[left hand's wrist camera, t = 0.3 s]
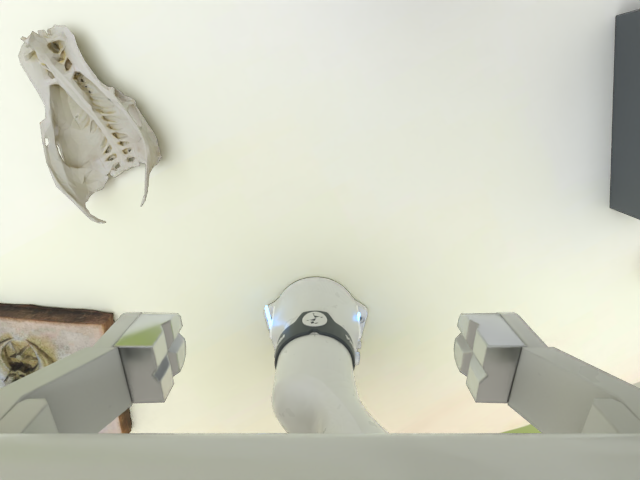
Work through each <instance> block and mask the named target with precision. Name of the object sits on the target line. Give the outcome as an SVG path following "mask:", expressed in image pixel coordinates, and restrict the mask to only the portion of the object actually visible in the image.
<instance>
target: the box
mask: <svg viewBox="0 0 640 480" xmlns="http://www.w3.org/2000/svg"><path fill="white" fill-rule="evenodd" d="M610 208H611V209H614V210H616V211H619V212H622V213H624V214H627V215H629V216H632V217H634V218H637V219H639V220H640V9H638V10H634V11H631V12H627V13H624V14H621V15H617V16H616V29H615V60H614V92H613V124H612V155H611V187H610Z"/></svg>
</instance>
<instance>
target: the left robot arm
mask: <svg viewBox="0 0 640 480" xmlns="http://www.w3.org/2000/svg"><path fill="white" fill-rule="evenodd" d="M367 315H368V310H367V308H366V307H365V306H364V305H363V304H361V303H359V302H357V301H356V300H355V299H354V298H353V297H352V296H351V294H350V293H349V292H348V291H347V290H346V289H345V288H344V287H343V286H342V285H340V284H339V283H337V282H335V281H333V280H330V279H327V278H321V277H310V278H305V279H301V280H299V281H296V282H294V283H293V284H291V285H290V286H288V287H287V288H286V289H285V290H284V291H283V293H282V294H281V295H280V297H279V298H278V299H277V300H276V301H275V302H273V303H271V304H270V305H268V306H265V310H264V317H265V320H266V323H267V326H268V330H269V333H270V338H271V339H272V343H273V346H274V349H275V369H276V373H275V379H274V385H273V392H272V407H273V411H274V414H275V416H276V418H277V419H278V421H279V423H280V424H281V425H282V427H283V428H284V429H285V431H286V432H287V433H99V432H100V431H101V430H102V429H103V428H105V427H106V426H107V425H108V424H110V423H111V422H112V421H113V420H114V419H116V418H117V417H118V416H119V415H121V414H122V413H123V412H124V411H125V410H127V409H128V408H129V407H130V406H132V403H158V402H165V400H166V398H167V396H168V394H169V392H170V391H171V389H172V387H173V385H174V381H173V376H175V375H176V374H178V373H179V372H180V371H181V369H182V367H183V365H184V361H185V356H186V343H185V338H184V337H183V336H182V335H181V334H180V333H179V331H180V330H181V328H182V326H183V325H182V320H181V316H180V315H179V314H178V313H142V312H128V313H123V314H122V315H121V316H120V317H119V318H118V319H117V320H116V321H115V323H114V324H113V325H112V326H111V327H110V328H109V329H108V330H107V331H106V332H105V333H104V335H103V336H102V337H101V338H100V339H99V340H98V341H97V342H96V343H95V344H94V345H93V346H92V347H85V348H83V349H81V350H79V351H77V352H75V353H73V354H71V355H69V356H67V357H65V358H63V359H60V360H58V361H56V362H54V363H52V364H50V365H48V366H46V367H44V368H42V369H40V370H38V371H35V372H33V373H31V374H29V375H27V376H25V377H23V378H21V379H19V380H17V381H15V382H13V383H10V384H8V385H6V386H4V387H2V388H0V480H640V388H638V387H636V386H633V385H631V384H629V383H627V382H625V381H623V380H621V379H619V378H617V377H615V376H613V375H611V374H609V373H607V372H604V371H602V370H600V369H598V368H596V367H594V366H592V365H590V364H588V363H586V362H584V361H582V360H580V359H577V358H575V357H573V356H571V355H569V354H567V353H565V352H563V351H561V350H559V349H557V348H555V347H548V346H547V345H546V344H545V343H544V342H543V341H542V340H541V339H540V338H539V337H538V336H537V335H536V333H535V332H534V331H533V330H532V329H531V328H530V327H529V326H528V325H527V324H526V323H525V321H524V320H523V319H522V318H521V317H520V316H519V315H518V314H516V313H514V312H504V313H473V314H461V315H460V317H459V320H458V325H457V326H458V328H459V330H460V331H461V333H460V334H459V335H458V336H457V337H456V338H455V344H454V356H455V361H456V364H457V367H458V369H459V371H460V372H461V373H462V374H464V375H465V376H467V381H466V385H467V387H468V389H469V391H470V392H471V394H472V396H473V398H474V400H475V402H481V403H508V405H509V406H510V407H511V408H512V409H513V410H515V411H516V412H517V413H518V414H520V415H521V416H522V417H523V418H524V419H526V420H527V421H528V422H529V423H531V424H532V425H533V426H534V427H535V428H537V429H538V430H539V431H540V432H542V433H389V432H388V431H386V430H385V429H384V428H383V427H382V426H381V425H380V424H379V423H378V422H377V421H376V420H375V419H374V418H373V417H372V416H371V415H370V414H369V412H368V411H367V410H366V408H365V407H364V405H363V404H362V402H361V400H360V398H359V395H358V391H357V387H356V383H355V378H354V372H353V371H354V367H355V365H359V361H360V353H359V352H357V351H358V349H360V348H361V341H360V340H361V337H362V333H363V330H364V326H365V323H366V319H367ZM271 317H272V319H271ZM360 317H362V318H360Z"/></svg>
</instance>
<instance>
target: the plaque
mask: <svg viewBox="0 0 640 480" xmlns="http://www.w3.org/2000/svg"><path fill="white" fill-rule="evenodd" d="M113 324H114V321H113V313H110V314H107V313H103V312H98V311H92V310H81V309H60V308H46V307H39V306H34V305H10V304H0V388H2V387H4V386H6V385H8V384H10V383H13V382H15V381H17V380H19V379H21V378H23V377H25V376H27V375H29V374H31V373H33V372H35V371H38V370H40V369H42V368H44V367H46V366H48V365H50V364H52V363H54V362H56V361H58V360H60V359H63V358H65V357H67V356H69V355H71V354H73V353H75V352H77V351H79V350H81V349H83V348H85V347H92V346H93V345H94V344H95V343H96V342H97V341H98V340H99V339H100V338H101V337H102V336H103V335H104V333H105V332H106V331H107V330H108V329H109V328H110V327H111V326H112V325H113ZM130 431H131V420H130V412H129V408H128V409H127V410H125V411H124V412H123V413H122V414H121V415H119V416H118V417H117V418H116V419H114V420H113V421H112V422H111V423H110V424H108V425H107V426H106V427H105V428H103V429H102V430H101V431H100V432H99V433H130Z"/></svg>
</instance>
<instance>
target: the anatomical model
mask: <svg viewBox="0 0 640 480" xmlns="http://www.w3.org/2000/svg"><path fill="white" fill-rule="evenodd" d="M38 34H39V35H38ZM38 34H37V33H35V32H33V31H32V33H31V35H30V36H29V37H28V38H25V37H23V36H22V38H21V40H23V41H24V43H23V45H22V47H21V49H20V52H19V55H18V57H19V61H20V64H21V66H22V68H23V69H24V71H25V73H26V74H27V76H28V77H29V79H30V81H31V82H32V84H33V86H34V87H35V89H36V90H37V92H38V94H39V96H40V97H41V99H42V101H43V103H44V105H45V115H46V118H45V119H44V120H43V121H42V122H40V128H41V136H42V142H43V147H44V153H45V158H46V162H47V165H48V168H49V170H50V173H51V176H52V178H53V180H54V183H55V185H56V187H57V188H58V189H59V190H60V191H62V192H63V193H64V194H65V195H66V196H67V197H68V198H69V199H70V200H71V201H72V202H73V203H74V204H75V205H76V206H77V207H78V208H79V209H80V210H81V211H82V212H83V213H84V214H85V215H86V216H87V217H88V218H89V219H90V220H92V221H94V222H97V223H106V221H103V220H100V219H98V218H96V217H95V216H93V215H91V214H90V213H89V211H88V209H87V208H86V206H85V202H87V201H88V199H89V197H90V196H91V195H92V194H93V193H94V192H96V191H100V190H101V189H103V187H104V185H105V183H106V182H107V180H108V178H109V177H108V176H107V174H109V173H110V175H111V176H113V177H117V176H118V175H119V174H121V173H122V172H124V171H125V170H129V169H130V168H131V167H137V166H140V164H139V162H141V163H144V164H145V193H144V197H143V200H142V203H141V206H140V207H142V205H143V204H144V202H145V200H146V196H147V192H148V185H149V174H150V172H151V170H152V168H153V167H154V166H155V165H157V164H158V163H159V161H160V159H161V158H162V157H161V153H160V149H159V146H158V141H157V137H156V135H155V134H154V132H153V130H152V129H151V127H150V126H149V125H148V123H147V121H146V120H145V118H144V117H143V115H142V114H141V112H140V111H139V109H138V108H137V106H136V101H135V100H134V99H132V98H130V97H128V96H125V95H124V94H123V93H122V92H121V91H120V90H117V89H115V88H114V87H108V86H106V85H105V84H103V83H102V82H101V81H100V80H99V79H98V78H97V76H96V75H95V74H94V72H93V71H92V70H91V68H90V67H89V66H88V64H87V63H86V62H85V60H84V58H83V56H82V54H81V52H80V50H79V48H78V46H77V43H76V40H75V37H74V34H73V33H72V32H71V31H70V30H69V29H68V28H67V27H66V26H60V25H54V26H53V28H50V29H48V34H47V33H46V32H45V30H39V31H38ZM81 79H83V81H84V82H82V81H81ZM86 86H87V87H86ZM89 91H90V92H91V93H89ZM109 99H110V100H109ZM76 116H77V118H76ZM45 138H48V141H49V144H48V145H47V146H46V145H45ZM57 145H58V147H59V148H60V151H61V155H62V158H63V159H62V158H61V156H60V154H59V152H58V148H57ZM130 149H131V151H130V152H129V150H130ZM133 157H134V159H133V161H130V160H129V158H133ZM111 158H113V160H110V159H111ZM63 160H64V161H63ZM118 163H119V165H120V167H118V168H117V169H115V167H116V165H117V164H118Z"/></svg>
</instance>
